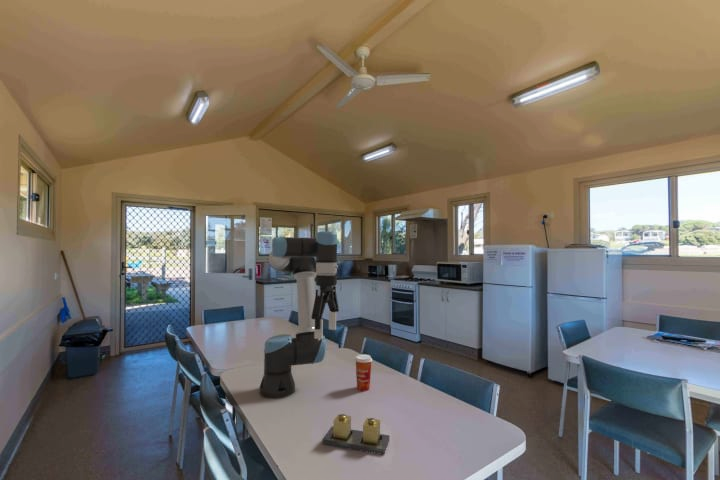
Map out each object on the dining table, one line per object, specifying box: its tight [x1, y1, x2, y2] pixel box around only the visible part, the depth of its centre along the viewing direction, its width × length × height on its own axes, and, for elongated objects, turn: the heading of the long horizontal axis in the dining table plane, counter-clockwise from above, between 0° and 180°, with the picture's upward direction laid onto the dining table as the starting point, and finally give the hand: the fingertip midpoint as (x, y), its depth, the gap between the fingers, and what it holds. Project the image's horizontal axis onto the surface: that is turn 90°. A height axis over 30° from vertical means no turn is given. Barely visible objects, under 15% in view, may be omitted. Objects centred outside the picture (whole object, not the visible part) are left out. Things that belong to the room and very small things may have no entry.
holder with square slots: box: [322, 417, 390, 455], centre depth 109 cm, size 20×8×8 cm, turn 74°
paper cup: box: [354, 354, 373, 392], centre depth 151 cm, size 8×8×14 cm
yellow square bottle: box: [333, 413, 352, 441], centre depth 110 cm, size 4×4×8 cm
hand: (325, 333), depth 121 cm, fingers open, 13 cm apart
